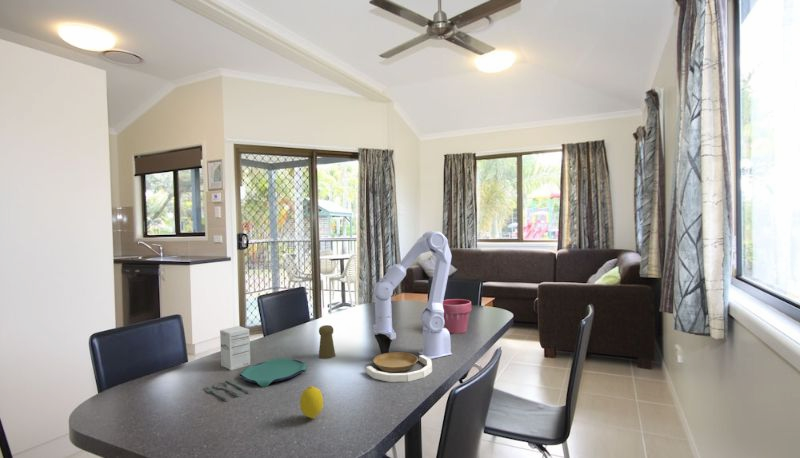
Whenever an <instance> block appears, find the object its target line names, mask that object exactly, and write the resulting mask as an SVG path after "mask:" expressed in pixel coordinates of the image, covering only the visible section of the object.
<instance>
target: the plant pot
mask: <svg viewBox="0 0 800 458" xmlns="http://www.w3.org/2000/svg"><path fill="white" fill-rule="evenodd" d="M443 309H444V321H445V324H444V327H443V328H446V329H447V330H448V331H449V333H450V334H454V335H456V334H459V335H460V334H465V333H466V332H467V330H468V325H469V319H470V314H471V313H470V312H471V311H472V301H471V300H469V299H462V298H453V299H450V298H449V299H444V300H443Z"/></svg>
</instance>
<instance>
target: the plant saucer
mask: <svg viewBox="0 0 800 458" xmlns="http://www.w3.org/2000/svg"><path fill="white" fill-rule="evenodd" d="M372 361H373V363H374V364H375V366H376V367H377V368H379V369H380V370H381V371H382V372H386V373H405V372H407V371H409V370H410V369H412V368H413V367H414V366H415V365H416V364H417V362H419V357H418V356H416V355H414V354H412V353H409V352H404V351H396V352H395V351H392V352H389V353H384V354H381V353H380V354H379V355H377V356H375V357H374V358H373V360H372Z"/></svg>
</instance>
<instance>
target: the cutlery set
mask: <svg viewBox="0 0 800 458" xmlns="http://www.w3.org/2000/svg"><path fill="white" fill-rule="evenodd" d="M307 368H308V365H307V364H306V363H305V362H303V361H301V360H297V359H292V358H289V357H286V358H284V357H283V358H281V357H280V358H273V359H269V360H267V361H262V362H259V363H256V364H253V365H250V366H248V367H247V366H246V367H245V368H244V369H243V370H242V371H241V372H240V373H239V376H240V377H241V379H242V380H243V381H244V382H248V383H252V384H257V385H259V386H260V387H262V388H267V387H268V386H269V385H270V384H271V383H275V382H282V381H285V380H289V379H291V378H293V377H295V376H297V375H300V374H301V373H302V372H304V373H305V372H306V370H307ZM225 382H226V383H225ZM225 382H217V383H214V384H213V388H211V387H209V386H206V387H204V388H202V390H204V392H206V393H208V394H213V395H215V396H216V397H217V398H219V399H220V400H223V401H224V402H228V401H229V397H227V396H226V395H222V394H220V393H218V392H217V391H216V390H225V391H227V392H230V393H232V395H235V396H236V397H239V396H240V395H241V393H240V392H238V391H237V390H236V391H235V390H234V389H229V388H228V384H230V385H232V386H234V387H235V388H236V389H241V390H243V391H245V392H247V394H251V390H248V389H246V388H244V387H243V385H240V384H238V383H237V382H234V381H232V380H230V379H225ZM227 383H228V384H227ZM217 386H225V387H217Z"/></svg>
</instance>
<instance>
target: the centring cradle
mask: <svg viewBox="0 0 800 458" xmlns="http://www.w3.org/2000/svg"><path fill="white" fill-rule="evenodd" d="M418 362H419V363H421V364H423V365H424V367H422V368H421V369H418V370H414V371H410V372H396V373H393V372H386V371H382V370H381V371H380V370H378V369H376V368H374V367H373V366H372V365H368V366H366V368H365V369H366V371H365V372H366V374H367V375H369V376H370V377H371V378H372V379H374V380H378V381H383V382H387V383H388V382H389V383H400V382H404V383H406V382H411V381H415V380H419V379H423V378H426V377H427V376H428V375H430V374H431V373H432V372H433V361H432V359H430V358H428V357H426V356H424V355H421V354H419V355H418Z"/></svg>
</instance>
